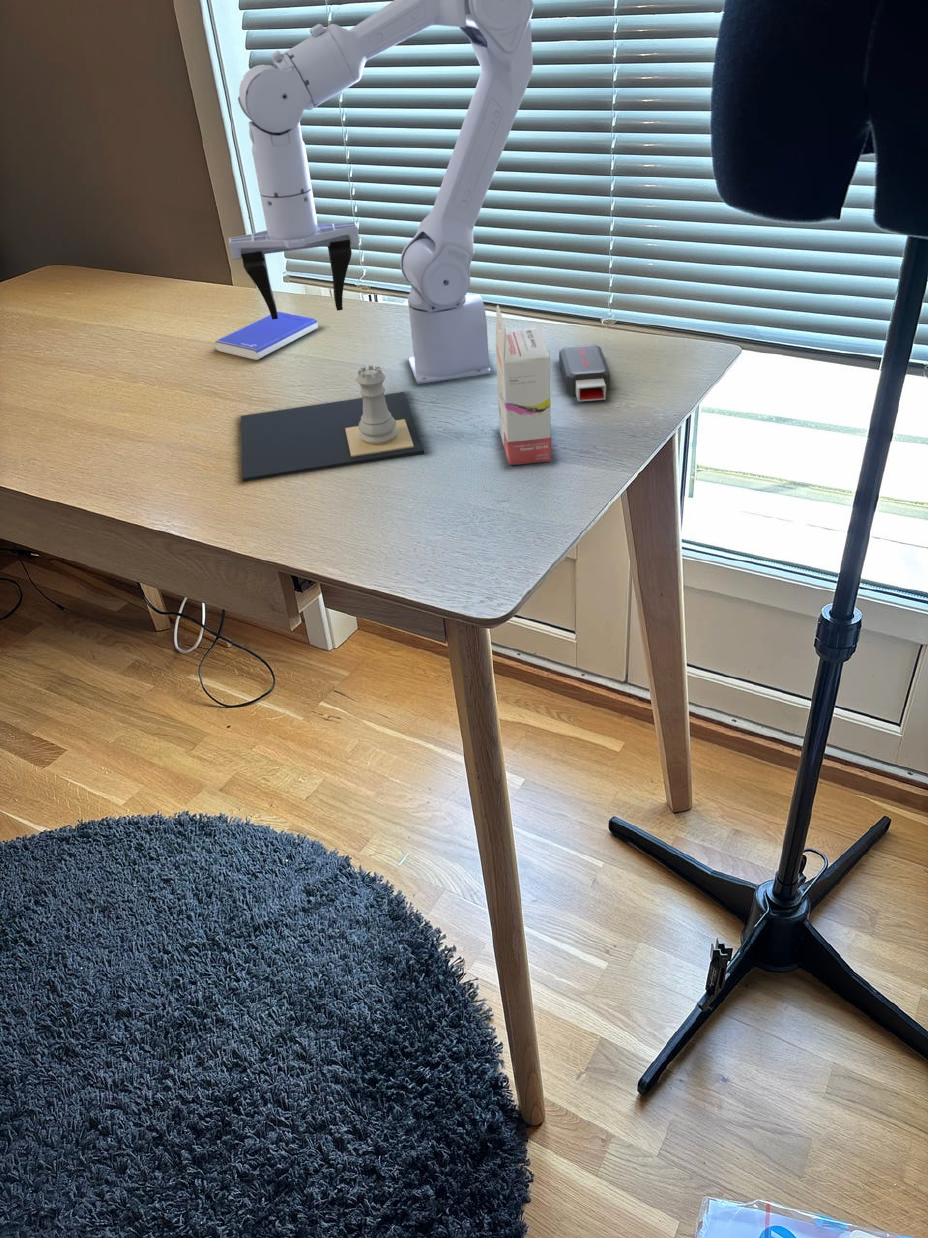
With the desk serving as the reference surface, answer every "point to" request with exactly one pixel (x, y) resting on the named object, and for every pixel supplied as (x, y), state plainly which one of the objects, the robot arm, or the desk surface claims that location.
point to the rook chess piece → (375, 408)
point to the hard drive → (266, 335)
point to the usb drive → (584, 372)
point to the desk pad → (320, 438)
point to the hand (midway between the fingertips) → (307, 311)
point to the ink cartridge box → (523, 393)
